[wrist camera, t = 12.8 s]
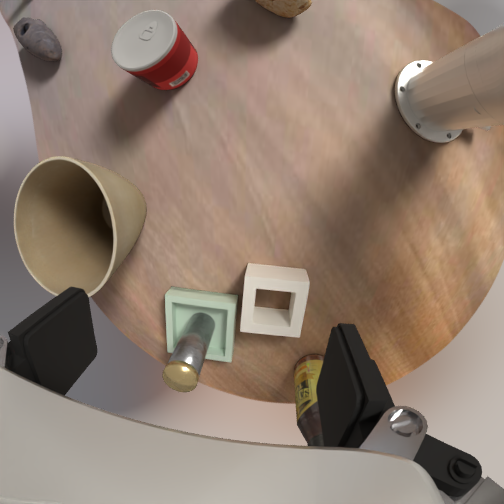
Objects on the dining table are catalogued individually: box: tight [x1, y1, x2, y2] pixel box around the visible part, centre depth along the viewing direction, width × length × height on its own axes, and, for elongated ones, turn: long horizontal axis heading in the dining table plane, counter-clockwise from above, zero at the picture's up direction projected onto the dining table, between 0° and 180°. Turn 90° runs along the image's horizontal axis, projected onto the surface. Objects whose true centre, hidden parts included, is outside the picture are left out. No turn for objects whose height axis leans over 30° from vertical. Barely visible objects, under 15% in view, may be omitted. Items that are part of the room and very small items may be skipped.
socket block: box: [240, 263, 310, 337], centre depth 40 cm, size 8×8×5 cm
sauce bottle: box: [294, 354, 324, 447], centre depth 36 cm, size 7×6×20 cm
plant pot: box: [14, 156, 147, 297], centre depth 32 cm, size 15×15×16 cm
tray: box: [165, 286, 238, 362], centre depth 43 cm, size 10×10×3 cm
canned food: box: [111, 10, 198, 90], centre depth 29 cm, size 8×8×11 cm
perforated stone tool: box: [13, 18, 62, 61], centre depth 29 cm, size 15×5×7 cm, turn 41°
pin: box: [163, 312, 215, 392], centre depth 37 cm, size 4×4×13 cm
